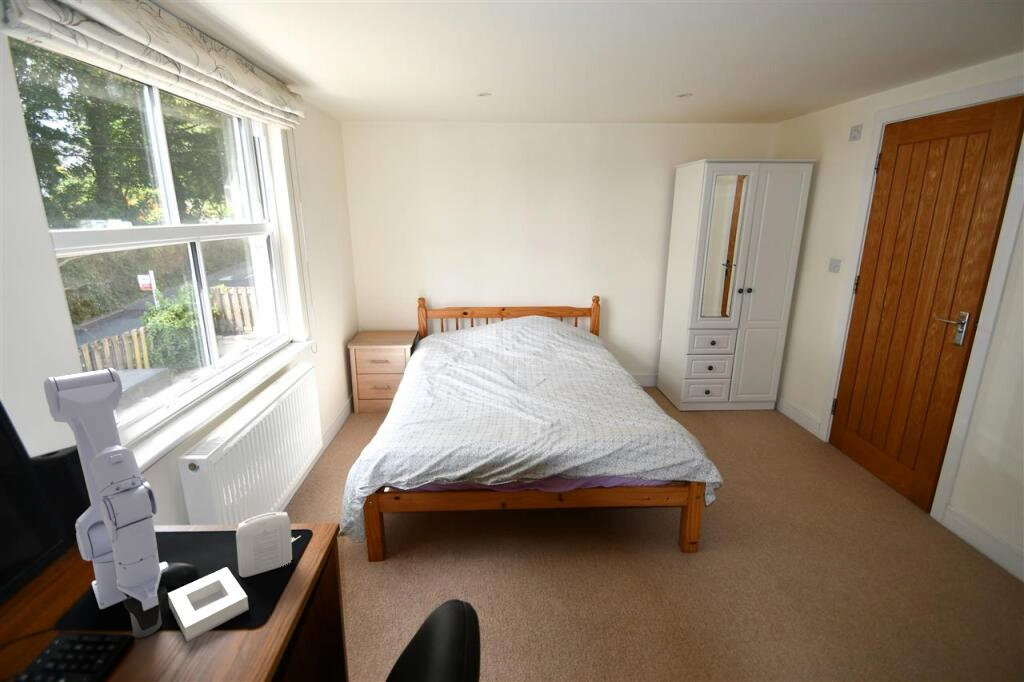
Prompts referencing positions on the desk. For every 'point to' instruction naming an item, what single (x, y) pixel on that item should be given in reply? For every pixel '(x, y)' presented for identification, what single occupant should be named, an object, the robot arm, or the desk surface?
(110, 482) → the robot arm
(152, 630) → the grey peg
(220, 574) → the housing
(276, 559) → the photo printer
